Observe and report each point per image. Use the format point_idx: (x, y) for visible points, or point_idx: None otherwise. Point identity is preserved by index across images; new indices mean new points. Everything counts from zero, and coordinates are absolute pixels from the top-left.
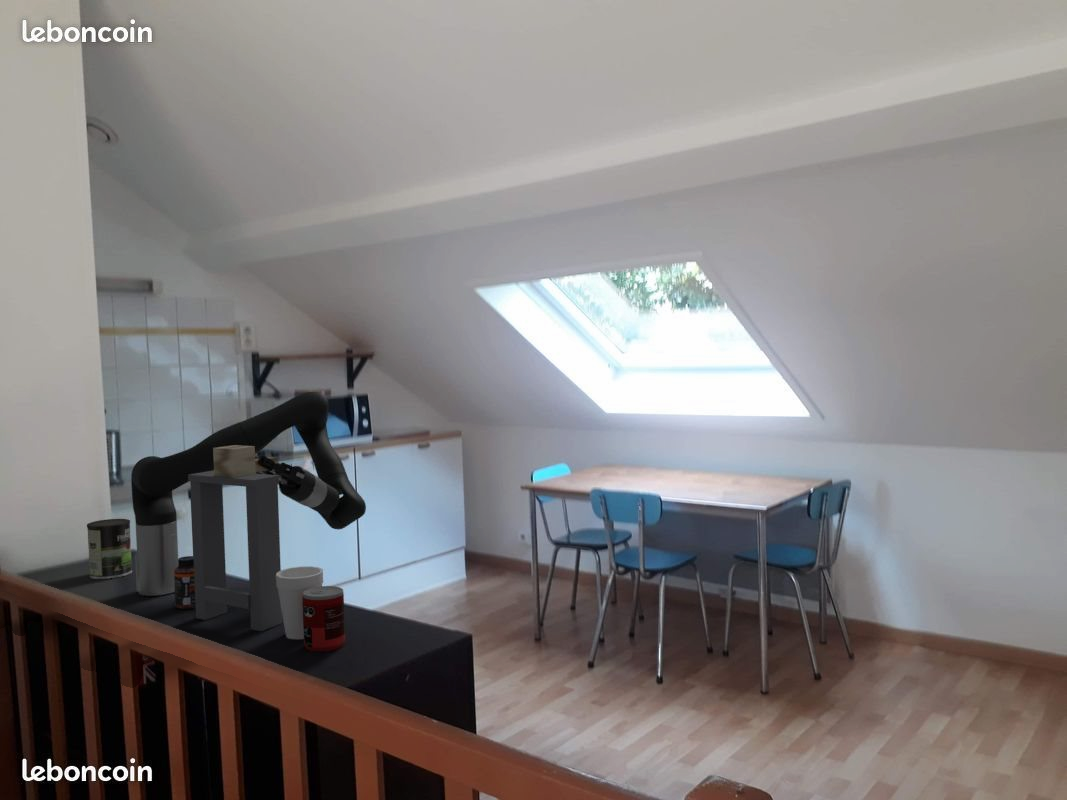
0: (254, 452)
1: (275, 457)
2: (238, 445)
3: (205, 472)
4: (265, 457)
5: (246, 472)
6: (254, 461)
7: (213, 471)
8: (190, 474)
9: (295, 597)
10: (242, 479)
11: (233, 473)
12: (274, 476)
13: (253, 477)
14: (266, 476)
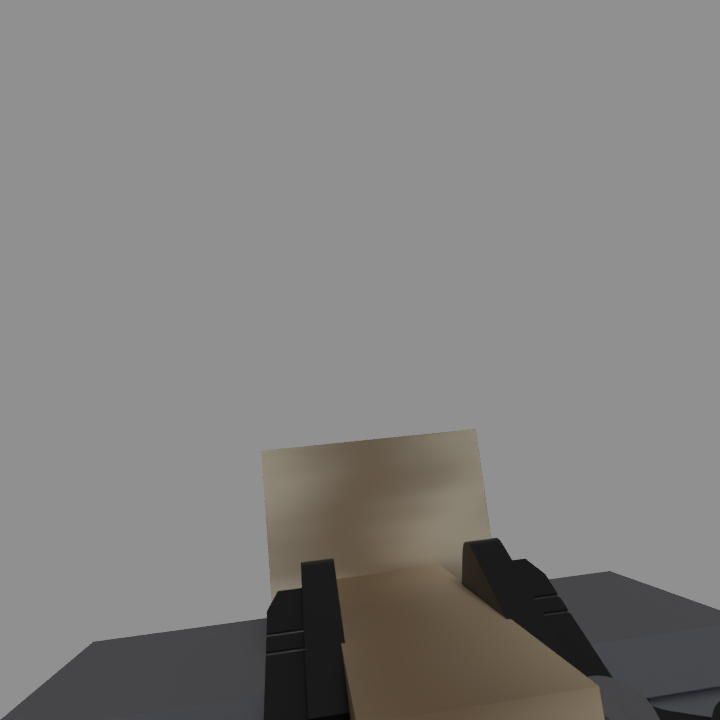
0: (266, 502)
1: (388, 709)
2: (428, 434)
3: (649, 597)
4: (301, 596)
5: None
6: (271, 578)
7: (670, 613)
8: (607, 573)
9: None
10: (187, 630)
11: None
12: (8, 714)
13: (158, 655)
14: (80, 690)
